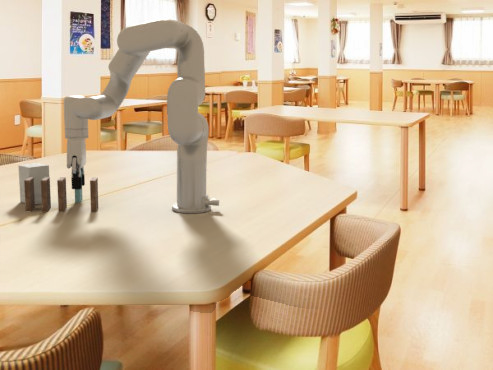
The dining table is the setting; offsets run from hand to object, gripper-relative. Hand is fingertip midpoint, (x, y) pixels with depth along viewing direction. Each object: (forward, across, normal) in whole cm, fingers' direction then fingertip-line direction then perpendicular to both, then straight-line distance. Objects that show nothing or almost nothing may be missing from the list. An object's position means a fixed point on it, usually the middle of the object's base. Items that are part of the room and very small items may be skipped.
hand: (78, 186), depth 203 cm
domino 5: (+5, +12, +7) cm, 15 cm away
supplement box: (+5, +2, -14) cm, 15 cm away
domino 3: (+5, +12, -3) cm, 13 cm away
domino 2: (+5, +12, -8) cm, 15 cm away
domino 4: (+5, 0, 0) cm, 5 cm away
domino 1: (+5, +12, -13) cm, 18 cm away
